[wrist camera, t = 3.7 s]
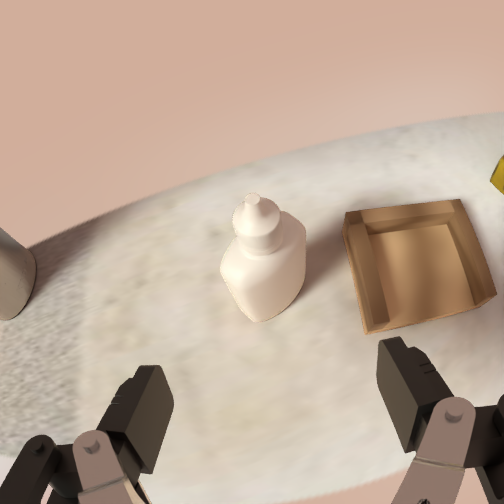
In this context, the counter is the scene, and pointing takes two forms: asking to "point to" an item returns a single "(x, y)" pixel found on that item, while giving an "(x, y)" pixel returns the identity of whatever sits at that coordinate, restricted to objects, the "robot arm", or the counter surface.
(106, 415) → the robot arm
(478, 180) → the counter surface
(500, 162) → the medication box
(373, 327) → the oak tray
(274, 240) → the eye dropper bottle
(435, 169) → the counter surface
